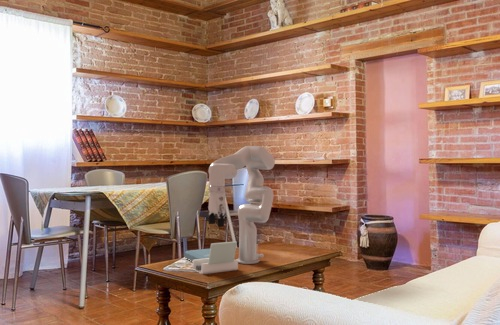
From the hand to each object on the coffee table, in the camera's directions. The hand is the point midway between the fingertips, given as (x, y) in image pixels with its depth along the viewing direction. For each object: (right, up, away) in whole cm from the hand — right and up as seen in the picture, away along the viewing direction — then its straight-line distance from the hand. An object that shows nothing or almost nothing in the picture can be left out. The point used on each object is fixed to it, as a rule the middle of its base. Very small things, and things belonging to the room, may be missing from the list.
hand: (216, 225), depth 230 cm
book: (-7, -24, +30) cm, 39 cm away
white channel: (-1, -24, +11) cm, 26 cm away
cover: (+3, -14, +5) cm, 15 cm away
